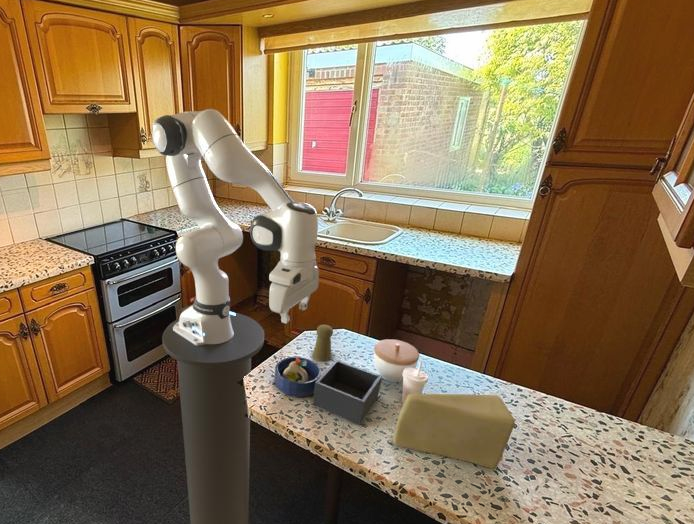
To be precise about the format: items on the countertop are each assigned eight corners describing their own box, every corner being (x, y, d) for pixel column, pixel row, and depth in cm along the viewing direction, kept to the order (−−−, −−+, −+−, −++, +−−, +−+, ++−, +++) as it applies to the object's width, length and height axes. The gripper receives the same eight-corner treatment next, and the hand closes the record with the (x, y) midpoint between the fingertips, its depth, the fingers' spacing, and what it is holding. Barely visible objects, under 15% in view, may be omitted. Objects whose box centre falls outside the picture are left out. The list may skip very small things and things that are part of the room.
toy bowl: (266, 386, 118) (267, 372, 116) (288, 365, 127) (289, 352, 125) (306, 403, 111) (307, 389, 109) (326, 380, 120) (328, 366, 118)
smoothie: (417, 413, 107) (428, 371, 101) (393, 403, 111) (402, 362, 105) (424, 401, 112) (434, 359, 106) (400, 392, 115) (410, 351, 109)
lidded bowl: (420, 375, 123) (428, 345, 118) (400, 393, 115) (407, 361, 110) (383, 358, 131) (389, 329, 126) (362, 374, 123) (367, 343, 118)
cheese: (396, 458, 94) (408, 409, 87) (389, 429, 102) (400, 381, 95) (498, 472, 90) (518, 421, 84) (482, 440, 99) (500, 392, 92)
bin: (312, 404, 111) (315, 382, 107) (333, 380, 120) (336, 359, 117) (359, 425, 103) (364, 402, 100) (377, 397, 113) (382, 376, 110)
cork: (311, 358, 131) (314, 329, 126) (314, 349, 136) (317, 321, 131) (330, 362, 129) (333, 332, 124) (332, 352, 134) (335, 323, 129)
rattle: (314, 379, 120) (317, 347, 115) (302, 394, 114) (305, 360, 109) (291, 371, 124) (293, 340, 119) (279, 385, 118) (281, 352, 113)
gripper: (305, 254, 111) (302, 299, 117) (265, 276, 97) (264, 326, 103) (326, 259, 108) (322, 304, 114) (287, 282, 93) (285, 333, 99)
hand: (294, 315), depth 108 cm, fingers open, 8 cm apart
